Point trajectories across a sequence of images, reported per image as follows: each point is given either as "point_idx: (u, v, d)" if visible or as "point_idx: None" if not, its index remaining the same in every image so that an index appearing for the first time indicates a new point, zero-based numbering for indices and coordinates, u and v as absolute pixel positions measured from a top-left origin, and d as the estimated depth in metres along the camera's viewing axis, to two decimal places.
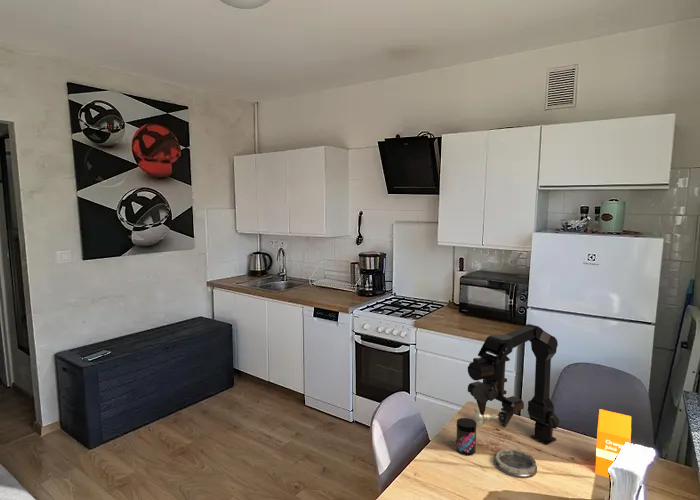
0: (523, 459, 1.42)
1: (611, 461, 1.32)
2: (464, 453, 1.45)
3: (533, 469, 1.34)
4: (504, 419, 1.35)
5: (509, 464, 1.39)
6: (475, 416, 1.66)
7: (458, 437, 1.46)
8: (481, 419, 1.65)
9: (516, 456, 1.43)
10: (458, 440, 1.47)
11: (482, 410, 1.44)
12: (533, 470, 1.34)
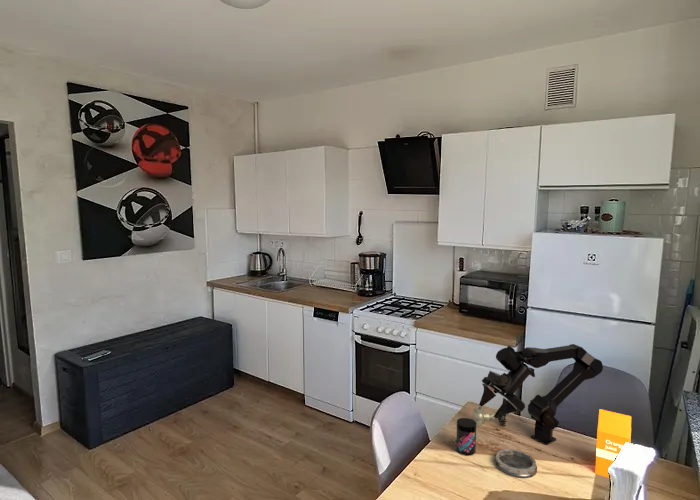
0: (523, 459, 1.42)
1: (611, 461, 1.32)
2: (464, 453, 1.45)
3: (533, 469, 1.34)
4: (499, 410, 1.44)
5: (509, 464, 1.39)
6: (475, 416, 1.66)
7: (458, 437, 1.46)
8: (481, 419, 1.65)
9: (516, 456, 1.43)
10: (458, 440, 1.47)
11: (483, 402, 1.53)
12: (533, 470, 1.34)
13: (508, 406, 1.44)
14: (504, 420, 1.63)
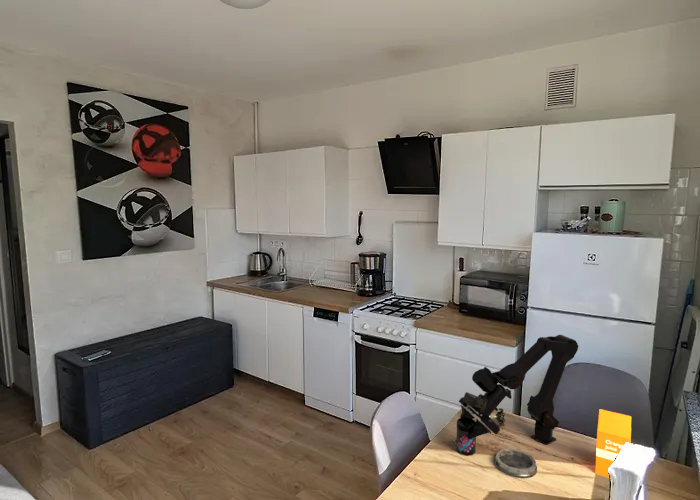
0: (523, 459, 1.42)
1: (611, 461, 1.32)
2: (464, 453, 1.45)
3: (533, 469, 1.34)
4: (472, 431, 1.43)
5: (509, 464, 1.39)
6: (473, 416, 1.66)
7: (458, 436, 1.46)
8: (479, 419, 1.65)
9: (516, 456, 1.43)
10: (458, 440, 1.47)
11: None
12: (533, 470, 1.34)
13: (481, 427, 1.43)
14: (503, 420, 1.63)
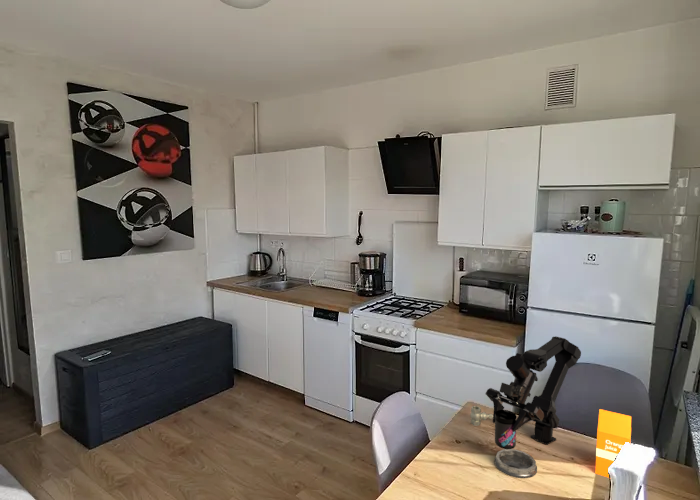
0: (523, 459, 1.42)
1: (611, 461, 1.32)
2: (508, 447, 1.37)
3: (533, 469, 1.34)
4: (517, 422, 1.36)
5: (509, 464, 1.39)
6: (472, 416, 1.66)
7: (501, 431, 1.37)
8: (478, 419, 1.65)
9: (516, 456, 1.43)
10: (500, 435, 1.37)
11: None
12: (533, 470, 1.34)
13: (524, 416, 1.37)
14: None
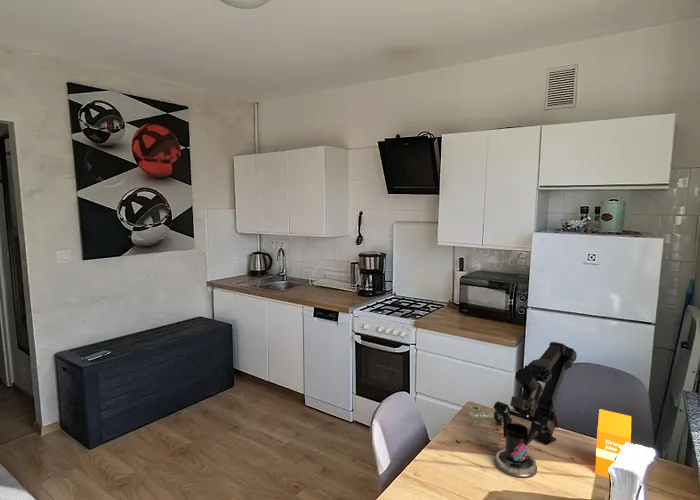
0: None
1: (611, 461, 1.32)
2: (521, 461, 1.36)
3: (533, 469, 1.34)
4: (529, 435, 1.35)
5: (509, 464, 1.39)
6: (471, 416, 1.66)
7: (513, 446, 1.36)
8: (477, 419, 1.65)
9: None
10: (513, 449, 1.36)
11: None
12: (533, 470, 1.34)
13: None
14: (500, 419, 1.63)
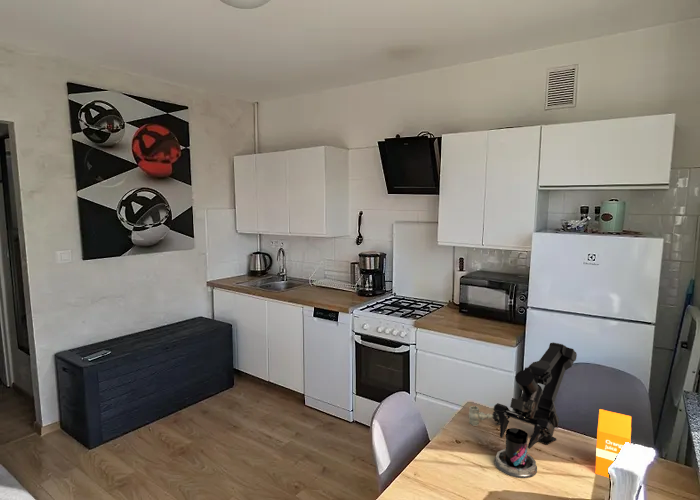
0: None
1: (611, 461, 1.32)
2: (520, 466, 1.36)
3: (533, 469, 1.34)
4: (532, 439, 1.34)
5: None
6: (470, 416, 1.66)
7: (513, 451, 1.36)
8: (476, 419, 1.65)
9: None
10: (513, 454, 1.36)
11: (503, 432, 1.41)
12: (533, 470, 1.34)
13: None
14: (499, 419, 1.63)
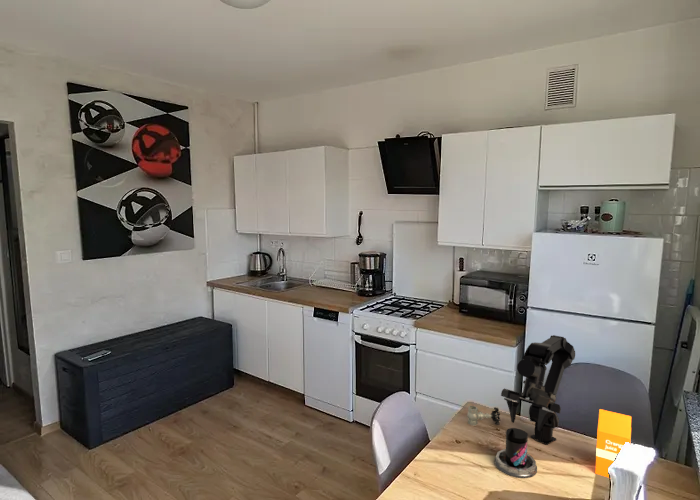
0: None
1: (611, 461, 1.32)
2: (520, 466, 1.36)
3: (533, 469, 1.34)
4: (543, 422, 1.42)
5: None
6: (469, 416, 1.66)
7: (513, 451, 1.36)
8: (475, 418, 1.65)
9: None
10: (513, 454, 1.36)
11: None
12: (533, 470, 1.34)
13: None
14: (498, 419, 1.64)
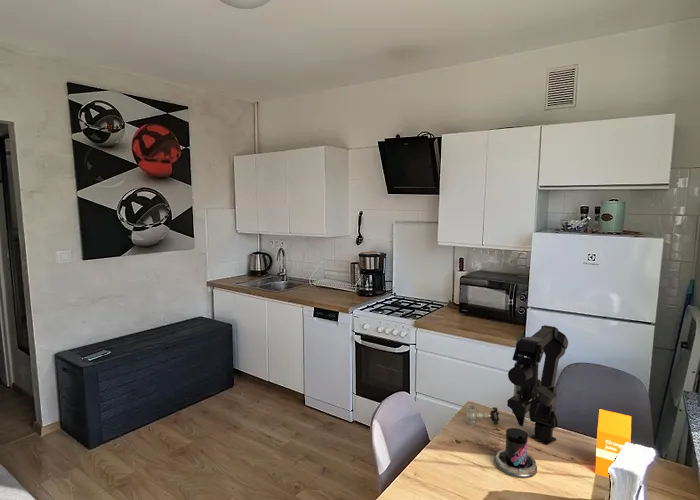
0: None
1: (611, 461, 1.32)
2: (520, 466, 1.36)
3: (533, 469, 1.34)
4: (537, 408, 1.45)
5: None
6: (468, 416, 1.66)
7: (513, 451, 1.36)
8: (474, 418, 1.65)
9: None
10: (513, 454, 1.36)
11: None
12: (533, 470, 1.34)
13: None
14: (497, 419, 1.64)
